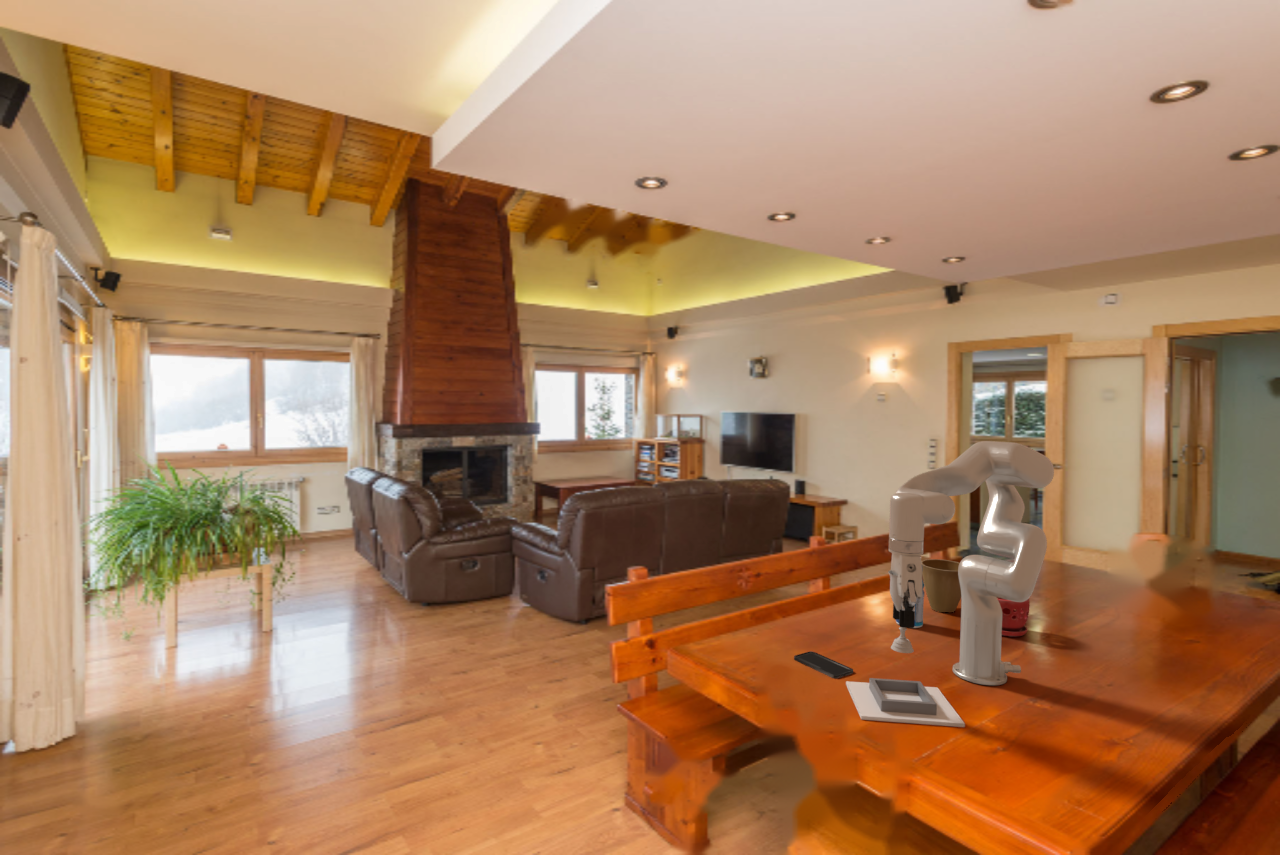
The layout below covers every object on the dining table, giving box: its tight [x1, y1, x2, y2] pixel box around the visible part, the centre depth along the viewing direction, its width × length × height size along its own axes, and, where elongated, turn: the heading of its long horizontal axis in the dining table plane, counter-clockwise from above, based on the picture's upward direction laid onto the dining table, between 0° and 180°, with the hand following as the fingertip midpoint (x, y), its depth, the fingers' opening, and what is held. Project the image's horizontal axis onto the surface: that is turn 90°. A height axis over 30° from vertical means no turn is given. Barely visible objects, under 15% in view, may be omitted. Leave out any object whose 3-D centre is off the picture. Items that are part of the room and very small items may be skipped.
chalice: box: [887, 569, 917, 654], centre depth 149 cm, size 7×7×18 cm
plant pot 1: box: [921, 558, 961, 613], centre depth 220 cm, size 15×15×16 cm
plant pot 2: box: [997, 597, 1030, 637], centre depth 200 cm, size 13×13×12 cm
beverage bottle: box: [895, 579, 925, 629], centre depth 205 cm, size 8×8×20 cm
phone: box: [793, 650, 854, 679], centre depth 172 cm, size 8×1×15 cm
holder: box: [845, 677, 966, 728], centre depth 150 cm, size 22×18×3 cm
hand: (903, 622), depth 149 cm, fingers closed on chalice, 4 cm apart
